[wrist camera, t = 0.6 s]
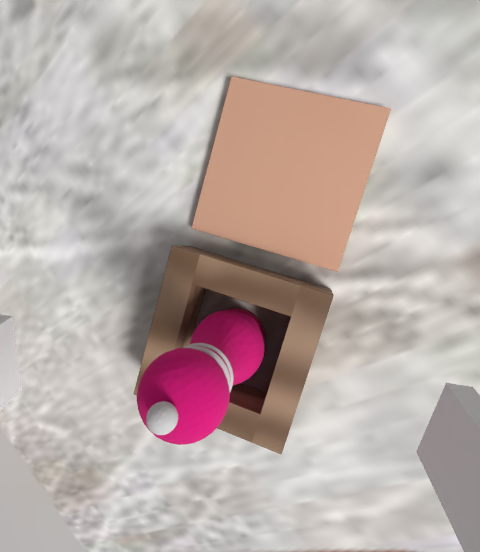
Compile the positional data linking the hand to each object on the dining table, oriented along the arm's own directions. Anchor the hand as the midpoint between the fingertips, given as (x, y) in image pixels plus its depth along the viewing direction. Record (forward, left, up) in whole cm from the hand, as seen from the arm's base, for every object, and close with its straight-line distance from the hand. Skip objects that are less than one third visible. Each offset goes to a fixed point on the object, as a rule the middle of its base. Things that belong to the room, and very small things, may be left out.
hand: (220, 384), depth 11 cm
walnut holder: (+7, -4, -27) cm, 28 cm away
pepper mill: (+7, -4, -27) cm, 28 cm away
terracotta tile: (-11, -4, -27) cm, 29 cm away
